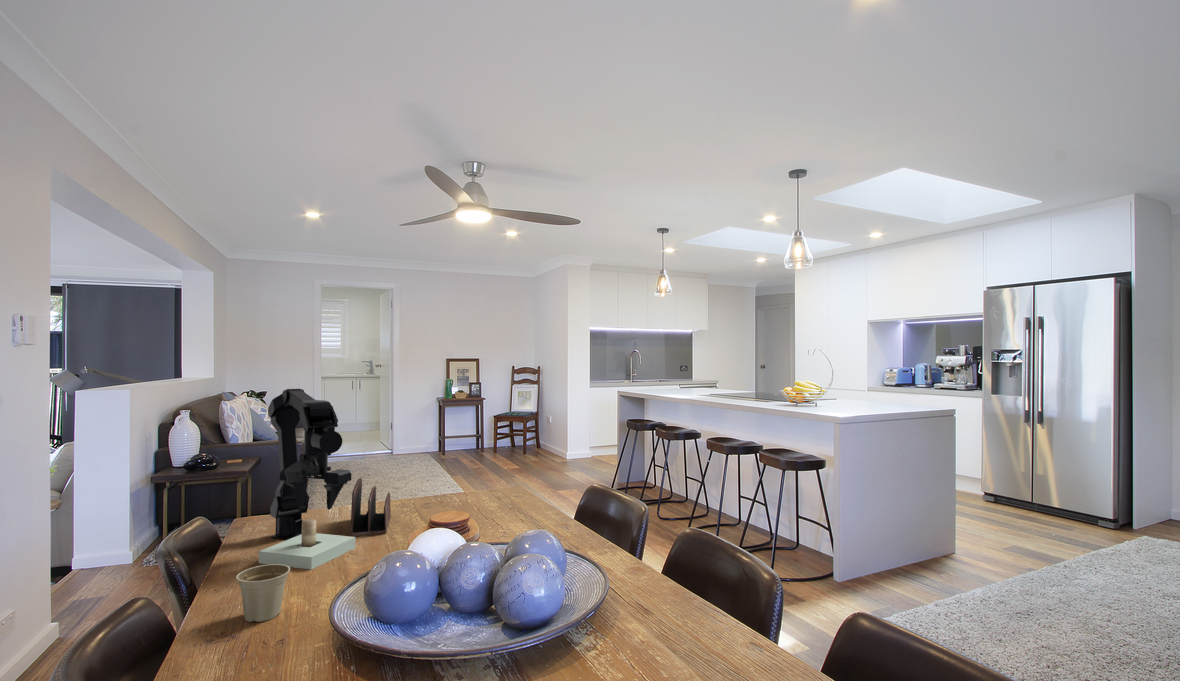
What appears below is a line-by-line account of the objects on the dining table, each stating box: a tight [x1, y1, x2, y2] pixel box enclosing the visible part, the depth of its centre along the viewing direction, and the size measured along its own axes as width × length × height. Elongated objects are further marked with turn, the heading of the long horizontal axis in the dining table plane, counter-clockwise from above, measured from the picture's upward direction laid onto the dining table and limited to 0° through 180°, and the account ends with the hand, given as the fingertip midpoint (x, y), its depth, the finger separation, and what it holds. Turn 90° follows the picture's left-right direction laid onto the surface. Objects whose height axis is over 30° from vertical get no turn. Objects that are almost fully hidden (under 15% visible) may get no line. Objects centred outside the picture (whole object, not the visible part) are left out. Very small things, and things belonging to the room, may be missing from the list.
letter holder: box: [349, 477, 392, 537], centre depth 173 cm, size 10×20×14 cm, turn 16°
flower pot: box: [235, 564, 291, 623], centre depth 113 cm, size 9×9×9 cm
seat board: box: [258, 532, 356, 570], centre depth 147 cm, size 16×16×3 cm
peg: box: [301, 518, 317, 547], centre depth 147 cm, size 4×4×9 cm
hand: (315, 507), depth 149 cm, fingers open, 9 cm apart
